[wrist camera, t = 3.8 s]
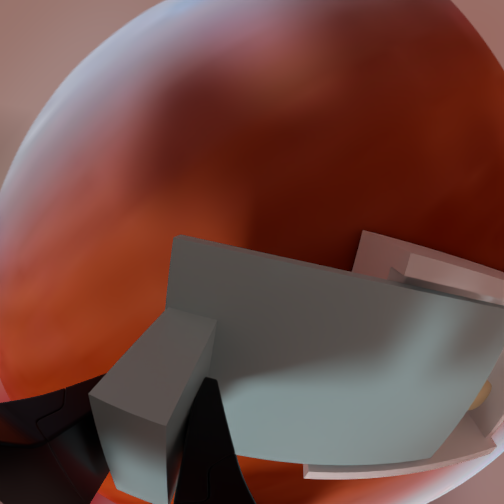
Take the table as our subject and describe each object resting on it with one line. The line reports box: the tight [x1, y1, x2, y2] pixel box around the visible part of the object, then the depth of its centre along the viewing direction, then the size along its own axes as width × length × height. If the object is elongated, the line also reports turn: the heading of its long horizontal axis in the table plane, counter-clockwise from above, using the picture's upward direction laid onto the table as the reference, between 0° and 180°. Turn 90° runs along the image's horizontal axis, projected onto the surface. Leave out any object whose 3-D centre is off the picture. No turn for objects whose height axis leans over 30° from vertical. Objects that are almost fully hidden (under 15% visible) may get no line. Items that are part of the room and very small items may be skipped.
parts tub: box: [303, 230, 504, 479], centre depth 10 cm, size 11×14×5 cm
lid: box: [88, 235, 504, 504], centre depth 7 cm, size 9×14×5 cm, turn 79°
